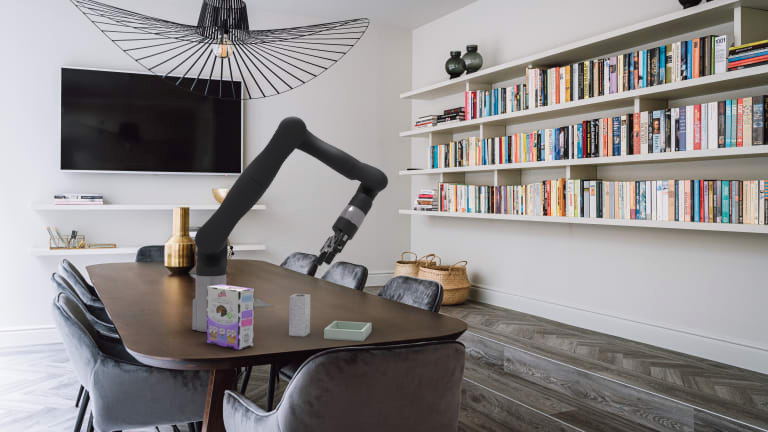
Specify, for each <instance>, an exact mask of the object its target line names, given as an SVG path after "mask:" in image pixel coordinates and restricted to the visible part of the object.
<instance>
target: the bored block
mask: <svg viewBox="0 0 768 432" xmlns="http://www.w3.org/2000/svg"><path fill="white" fill-rule="evenodd" d="M288 313H289V314H288V315H289V321H288V323H289V324H288V336H290V337H291V336H292V337H293V336H294V337H303V338H304V337H306V336H307V335H309V334H310V333H311V294H307V293H306V294H304V293H294V294H291V295H289V311H288Z"/></svg>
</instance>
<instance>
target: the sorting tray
mask: <svg viewBox="0 0 768 432" xmlns="http://www.w3.org/2000/svg"><path fill="white" fill-rule="evenodd" d="M323 334H324V335H323V339H324V340H334V341H349V342H350V341H351V342H362V343H363V342H364V341H365V340H366V339H367V338H369V336H370V335H371V334H372V322H363V321H362V322H361V321H359V322H358V321H347V320H346V321H343V320H334V321H332V322H331V323H330V324H329V325H327V326H326V327H325V328H324V330H323Z"/></svg>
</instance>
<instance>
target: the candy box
mask: <svg viewBox="0 0 768 432" xmlns="http://www.w3.org/2000/svg"><path fill="white" fill-rule="evenodd" d="M254 310H255V288H250V287H242V286H237V285H236V286H235V285H228V284H226V285H223V284H221V285H214V286H207V332H206V343H207V344H212V345H214V346H215V345H216V346H220V347H225V348H229V349H234V350H238V351H239V350H243V349H246V348H251V347H254V325H255V324H254V321H255V319H254V318H255V317H254V313H255V311H254Z"/></svg>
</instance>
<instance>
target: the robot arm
mask: <svg viewBox="0 0 768 432" xmlns="http://www.w3.org/2000/svg"><path fill="white" fill-rule="evenodd" d="M295 150H298V151H300V152H303V153H305V154H307V155H309V156H311V157H313V158H315V159H316V160H317V161H320V162H321V163H322V164H324V165H325V166H327V167H328V168H330V169H332V170H333V171H335V172H337V173H338V174H340V175H341V176H343V177H345V178H346V179H348V180H351V181H358V182H360V183H359V186H358V187H357V188H356V191H355V193H354V195H353V196H352V197H351V199H350V200H349V202H348V203H347V205H346V206H345V207H344V209H343V210H342V211H341V212H340V214H339V216H338V217H337V218H336V220H335V222H334V223H333V225H332V226H331V229H332V232H334V234H333V235H331V236H329V237H328V238H327V239H326V241H325V242H324V244H323V245H322V247H321V248H320V249H319V252H320V254H318V257H316V259H315V261H314V263H315V265H317V266H319V267H321V266H322V265H323V263H324V264H326V265H327V266H330V265H331V264H332V262H333V261H334V259H335V258H336V256H338V255H339V254H341V253H342V252H343V250H344V248H345V246H346V245H347V243H348V242H349V241H353V239H354V236H355V235H356V234H357V232H358V230H359V229H360V228H361V226H362V224H363V222H364V220H365V218H366V217H367V215H368V213H369V212H370V210H371V208H372V206H373V202H374V201H375V199H376V197H377V196H378V194H379V193H380V192H382V191H384V190H385V189H386V188H387V187H388V184H389V178H388V176H387V174H386V173H385V172H384V171H382V170H381V169H380V168H378V167H376V166H373V165H371V164H368V163H365V162H362V161H360V159H357V158H356V157H354V156H353V155H350V154H349V153H348V152H346V151H344V150H342V149H340V148H338V147H336V146H334V145H332V144H330V143H328V142H327V141H324V140H322V139H320V138H319V137H318V136H316V135H315V134H314V133H312V132H311V131H310V130H309V129H308V128H307V125H306V123H305V120H303V119H302V118H301V117H298V116H294V115H293V116H287V117H285V118H283V119H282V120H281V121H280V122H279V124H278V126H277V128H276V130H275V131H274V133H273V135H272V137H271V138H270V139H269V141H268V143H267V144H266V146H265V147H264V148H263V149H262V151H261V152H259V153H258V155H256V156H255V158H254V159H253V160H252V161H250V163H249V164H248V165H247V166H246V168H245V169H244V170H242V173H241V174H240V175H239V176H238V178H237V179H236V180H235V182H234V184H233V185H232V186H231V188H230V190H229V191H228V192H227V194H226V195H225V197H224V199H223V200H222V202H221V203H220V206H219V207H218V208H217V209H216V211H214V213H213V214H212V215H211V216H210V217H209V218H208V219H207V220H206V221H205V222H204V224H202V226H201V227H200V228H199V229H198V230H197V231H196V233H195V234H194V235H195V236H194V242H195V246H196V248H197V260H196V265H195V298H193V300H192V329H191V330H193V331H198V332H205V333H207V286H214V285H221V284H223V285H227V269H228V268H227V267H228V254H229V253H228V251H229V250H228V249H229V237H230V235H231V233H232V232H233V230H234V228H235V227H236V226H237V224H238V223H239V221H240V220H241V219H242V218H243V217H244V216H245V215H247V213H248V212H250V211H251V210H252V208H254V206H255V205H257V204H258V202H259V200H260V199H261V198H262V197H263V195H264V194H265V193H266V192H267V190H268V189H269V187H270V186H271V185H272V183H273V181H274V179H276V176H277V175H278V174H279V171H280V169H281V168H282V166H283V164H284V163H285V162H286V160H287V159H288V158H289V157H290V155H292V153H294V151H295Z"/></svg>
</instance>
